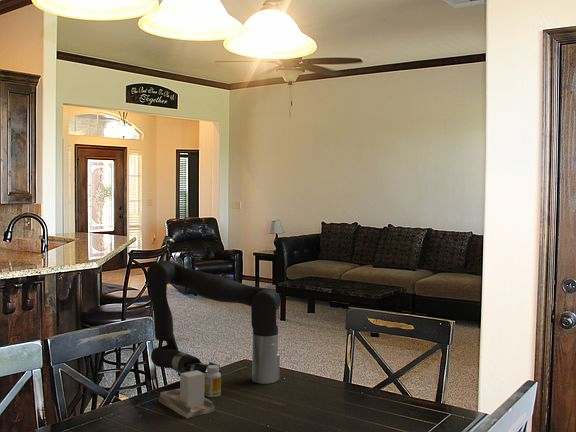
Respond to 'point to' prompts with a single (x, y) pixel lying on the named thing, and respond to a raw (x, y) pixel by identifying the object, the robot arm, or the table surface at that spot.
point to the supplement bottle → (213, 381)
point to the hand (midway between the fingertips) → (209, 375)
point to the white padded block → (192, 388)
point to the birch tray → (173, 402)
